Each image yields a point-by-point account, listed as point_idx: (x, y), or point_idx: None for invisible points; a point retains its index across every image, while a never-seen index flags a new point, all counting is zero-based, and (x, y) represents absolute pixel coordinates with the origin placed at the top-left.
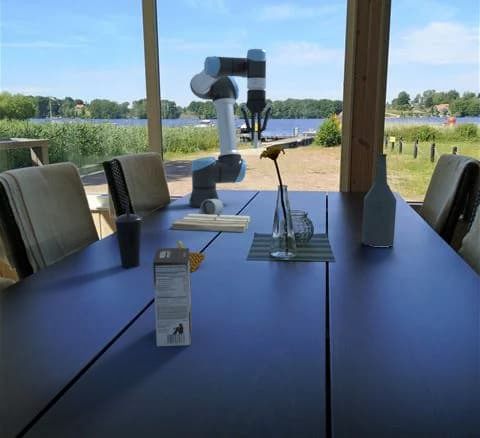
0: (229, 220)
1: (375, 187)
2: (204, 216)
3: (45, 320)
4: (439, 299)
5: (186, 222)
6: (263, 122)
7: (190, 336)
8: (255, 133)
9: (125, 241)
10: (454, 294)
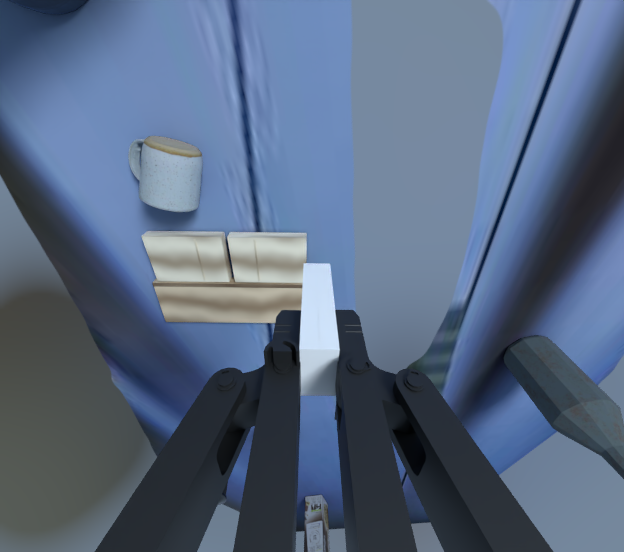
0: (267, 281)
1: (588, 448)
2: (195, 256)
3: (237, 498)
4: (492, 461)
5: (186, 309)
6: (429, 516)
7: (327, 508)
8: (315, 387)
9: None
10: (511, 454)
